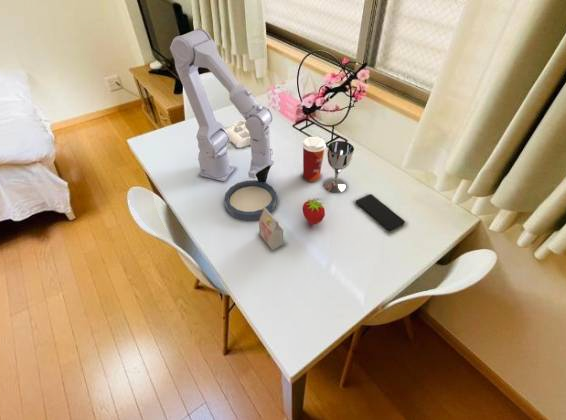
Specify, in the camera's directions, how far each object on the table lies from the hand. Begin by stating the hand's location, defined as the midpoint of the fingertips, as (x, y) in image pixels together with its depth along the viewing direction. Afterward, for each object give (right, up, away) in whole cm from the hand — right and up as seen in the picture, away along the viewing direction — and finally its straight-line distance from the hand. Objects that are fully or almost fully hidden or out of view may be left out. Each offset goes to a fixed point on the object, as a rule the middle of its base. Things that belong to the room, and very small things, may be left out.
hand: (262, 182), depth 102 cm
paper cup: (+17, +3, +5) cm, 18 cm away
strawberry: (+16, -13, -12) cm, 24 cm away
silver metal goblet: (+25, -1, +2) cm, 25 cm away
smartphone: (+37, -10, -8) cm, 39 cm away
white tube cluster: (-9, +21, +23) cm, 32 cm away
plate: (-3, -7, -5) cm, 9 cm away
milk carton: (+4, -18, -16) cm, 24 cm away
